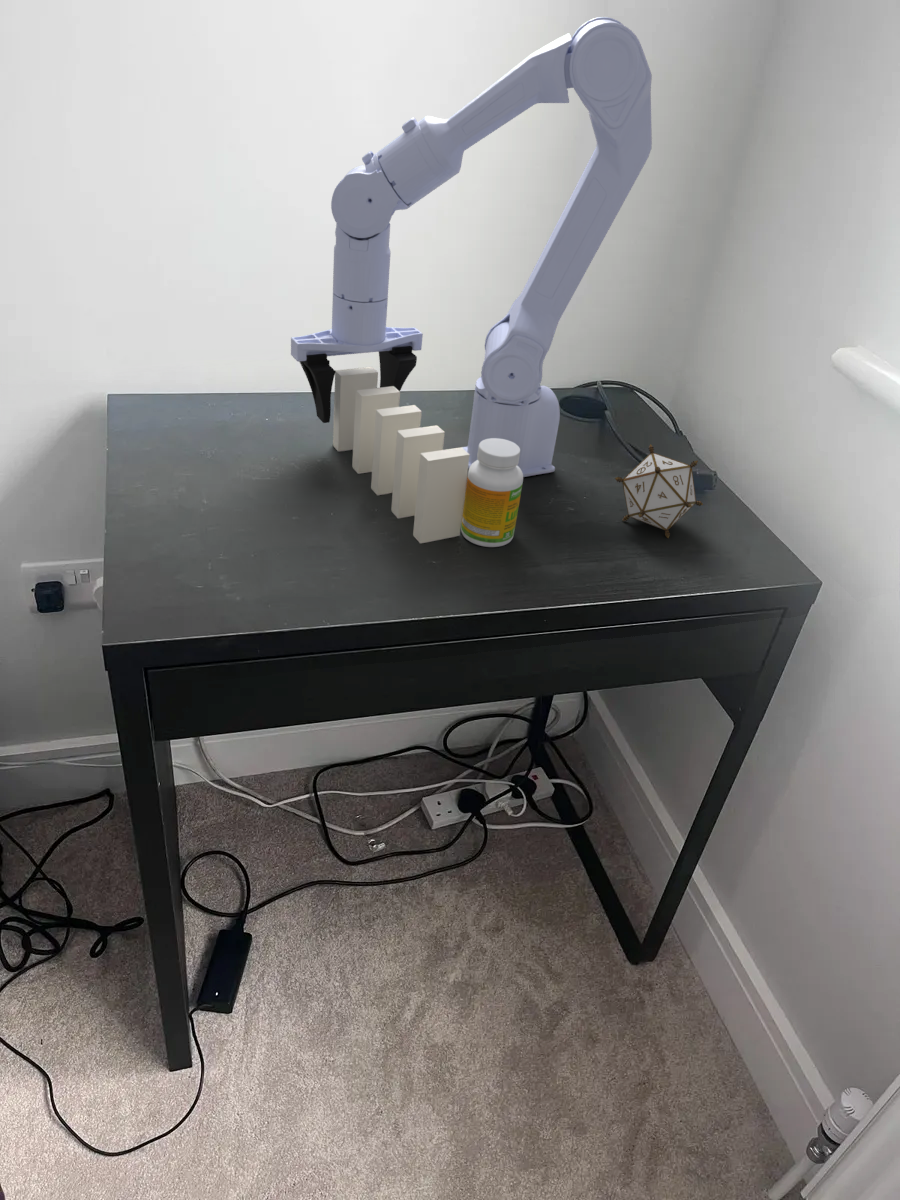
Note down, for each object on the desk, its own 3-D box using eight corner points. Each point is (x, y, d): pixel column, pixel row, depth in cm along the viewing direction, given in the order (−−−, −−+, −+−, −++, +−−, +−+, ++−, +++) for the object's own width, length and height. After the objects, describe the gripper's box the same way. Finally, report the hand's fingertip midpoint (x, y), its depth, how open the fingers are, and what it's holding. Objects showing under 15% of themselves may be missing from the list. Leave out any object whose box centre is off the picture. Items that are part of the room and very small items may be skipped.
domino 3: (408, 482, 99) (414, 405, 94) (414, 489, 98) (421, 411, 93) (371, 488, 98) (375, 409, 92) (377, 495, 96) (382, 416, 91)
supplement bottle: (509, 553, 90) (523, 464, 84) (455, 542, 90) (466, 453, 85) (516, 526, 94) (531, 440, 89) (465, 516, 95) (477, 430, 89)
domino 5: (451, 527, 93) (461, 447, 87) (459, 535, 92) (469, 454, 86) (412, 535, 91) (420, 453, 85) (420, 543, 90) (428, 460, 84)
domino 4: (429, 504, 96) (437, 425, 91) (436, 511, 95) (444, 432, 90) (391, 510, 94) (397, 430, 89) (398, 518, 93) (404, 437, 88)
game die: (643, 563, 98) (637, 520, 89) (605, 502, 102) (597, 456, 93) (718, 524, 98) (720, 478, 89) (678, 465, 101) (676, 415, 92)
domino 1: (367, 440, 107) (372, 366, 102) (373, 446, 106) (378, 372, 100) (332, 445, 105) (335, 370, 100) (338, 451, 104) (340, 375, 98)
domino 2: (388, 461, 103) (393, 386, 98) (394, 468, 102) (400, 392, 97) (352, 467, 101) (355, 390, 96) (358, 473, 100) (362, 396, 95)
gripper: (405, 278, 101) (397, 394, 109) (280, 285, 95) (280, 407, 103) (435, 299, 96) (424, 418, 104) (305, 307, 90) (303, 434, 98)
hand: (354, 415), depth 103 cm, fingers open, 7 cm apart
